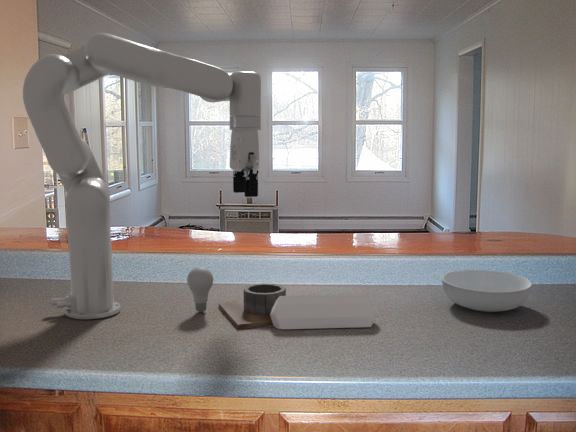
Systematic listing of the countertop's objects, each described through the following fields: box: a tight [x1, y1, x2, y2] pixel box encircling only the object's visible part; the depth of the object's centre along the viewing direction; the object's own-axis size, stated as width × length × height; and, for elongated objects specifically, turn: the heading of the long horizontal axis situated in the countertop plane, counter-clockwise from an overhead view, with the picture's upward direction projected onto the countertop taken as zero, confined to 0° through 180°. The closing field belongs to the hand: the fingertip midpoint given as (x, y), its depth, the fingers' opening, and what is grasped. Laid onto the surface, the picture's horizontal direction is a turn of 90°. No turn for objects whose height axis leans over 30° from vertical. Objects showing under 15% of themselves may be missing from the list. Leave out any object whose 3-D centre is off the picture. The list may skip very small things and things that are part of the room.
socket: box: [218, 282, 287, 330], centre depth 153 cm, size 18×18×6 cm
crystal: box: [270, 293, 378, 330], centre depth 146 cm, size 7×7×24 cm
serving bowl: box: [441, 269, 533, 313], centre depth 158 cm, size 21×21×7 cm
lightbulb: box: [186, 266, 214, 314], centre depth 154 cm, size 6×6×11 cm
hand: (245, 194), depth 160 cm, fingers open, 9 cm apart
